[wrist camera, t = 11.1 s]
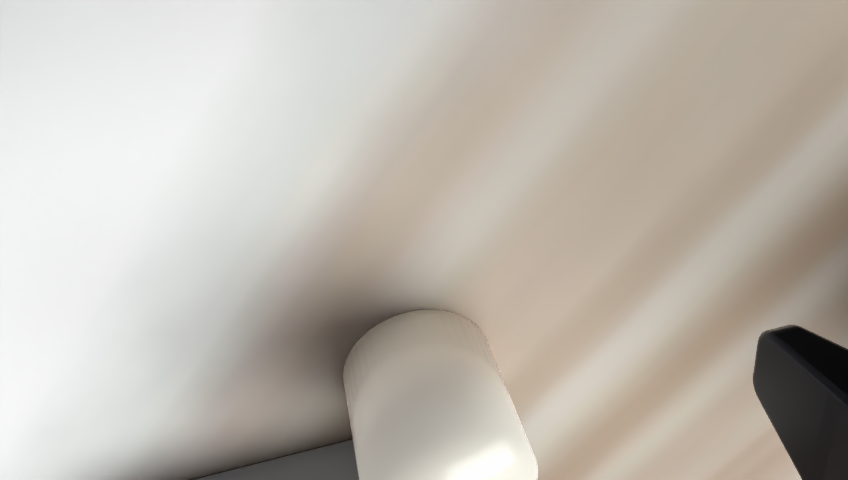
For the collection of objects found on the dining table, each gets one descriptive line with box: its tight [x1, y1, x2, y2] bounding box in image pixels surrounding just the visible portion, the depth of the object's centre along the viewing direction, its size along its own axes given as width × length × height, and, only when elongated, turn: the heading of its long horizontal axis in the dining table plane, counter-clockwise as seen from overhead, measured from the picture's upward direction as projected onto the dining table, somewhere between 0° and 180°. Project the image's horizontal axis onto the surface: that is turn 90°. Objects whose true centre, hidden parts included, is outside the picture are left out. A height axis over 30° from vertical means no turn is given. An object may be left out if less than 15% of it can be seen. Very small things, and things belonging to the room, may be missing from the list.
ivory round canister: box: [343, 310, 538, 480], centre depth 23 cm, size 5×5×5 cm
